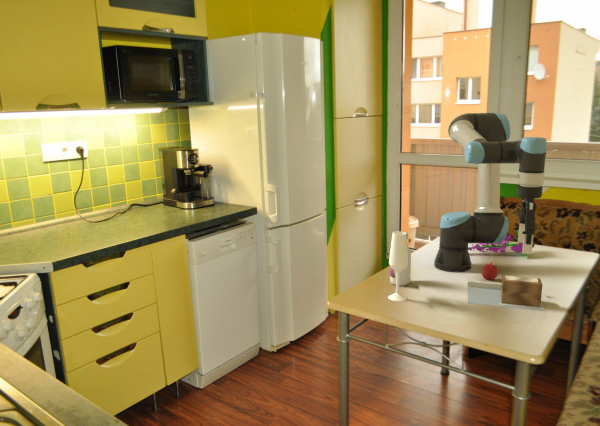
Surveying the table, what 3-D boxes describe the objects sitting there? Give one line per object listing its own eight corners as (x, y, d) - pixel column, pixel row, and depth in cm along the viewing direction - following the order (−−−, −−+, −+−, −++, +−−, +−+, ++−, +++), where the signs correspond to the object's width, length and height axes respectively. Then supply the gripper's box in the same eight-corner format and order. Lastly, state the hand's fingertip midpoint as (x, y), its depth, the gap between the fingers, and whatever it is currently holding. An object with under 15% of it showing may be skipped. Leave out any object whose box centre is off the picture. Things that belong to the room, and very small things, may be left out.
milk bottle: (412, 280, 195) (413, 231, 191) (407, 287, 188) (409, 236, 184) (392, 278, 198) (394, 229, 194) (387, 284, 192) (389, 234, 187)
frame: (501, 303, 169) (503, 280, 168) (500, 296, 175) (502, 274, 173) (540, 307, 166) (542, 283, 164) (537, 300, 171) (539, 277, 169)
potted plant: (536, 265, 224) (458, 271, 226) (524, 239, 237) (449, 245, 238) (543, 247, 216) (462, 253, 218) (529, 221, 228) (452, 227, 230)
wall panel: (467, 306, 170) (468, 297, 169) (467, 288, 187) (468, 280, 186) (544, 314, 163) (545, 305, 162) (537, 294, 179) (538, 286, 179)
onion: (489, 285, 190) (490, 265, 188) (477, 280, 195) (479, 261, 193) (500, 282, 192) (501, 262, 191) (488, 278, 197) (489, 258, 196)
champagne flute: (400, 293, 182) (402, 230, 177) (410, 299, 176) (412, 234, 171) (384, 295, 180) (386, 231, 175) (393, 302, 174) (395, 236, 169)
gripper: (514, 179, 174) (509, 237, 179) (521, 190, 151) (516, 257, 156) (537, 179, 172) (532, 238, 177) (548, 191, 149) (542, 259, 153)
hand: (524, 247), depth 166 cm, fingers open, 13 cm apart
